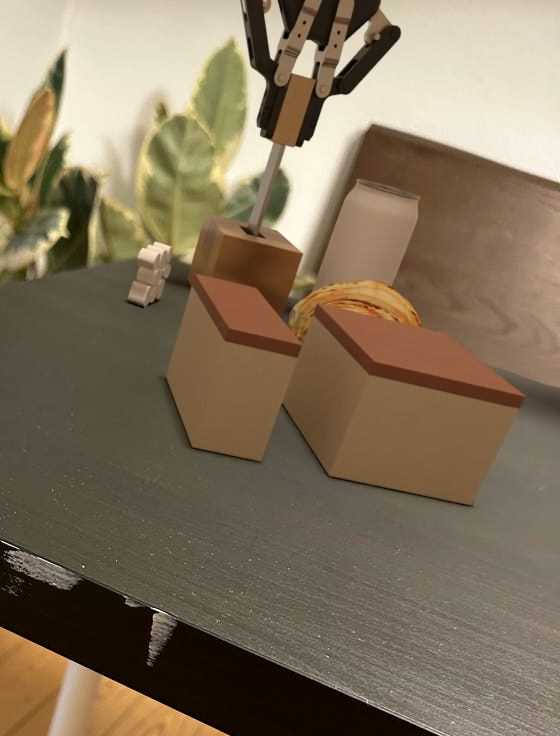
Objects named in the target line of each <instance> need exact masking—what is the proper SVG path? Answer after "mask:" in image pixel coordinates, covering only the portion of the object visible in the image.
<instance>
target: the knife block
mask: <svg viewBox="0 0 560 736" xmlns="http://www.w3.org/2000/svg"><path fill="white" fill-rule="evenodd" d="M248 224H249V222H246V221H241V220H237V219H233V218H229V217H225V216H221V215H217V214H213V213H209V212H205V214H204V217H203V221H202V224H201V229H200V231H199V235H198V238H197V242H196V246H195V250H194V253H193V255H192V256H193V257H192V260H191V264H190V267H189V270H188V274H187V278H186V280H187V282H188V284H189V285H190V288H191V287H192V284H193V280H194V277H195V274H199V275H204V276H208V277H212V278H216V279H220V280H224V281H229V282H233V283H237V284H241V285H245V286H249V287H254V288H256V289H257V290H258V291H259V292H260V293H261V295H262V296H263V297H264V298H265V299H266V301H267V302H268V303H269V304H270V306H271V307H272V308H273V309H274V311H275V312H276V313H277V314H278V315H279V317H280V318H281V319H282V318H283V316H284V312H285V309H286V307H287V304H288V300H289V297H290V294H291V292H292V288H293V285H294V283H295V279H296V277H297V274H298V271H299V268H300V265H301V262H302V259H303V256H304V252H302V251H301V250H300V249H299V248H298V247H296V245H294V244H293V242H291V241H290V240H289V239H287V237H285V235H283V234H282V233H281V232H280V231H279V230H278V229H277V230H276V229H272V228H270V227H265V226H261V227H260V231H259V234H258V237H256V236H252V235H248V234H246V230H247V227H248Z"/></svg>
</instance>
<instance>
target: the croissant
mask: <svg viewBox="0 0 560 736" xmlns="http://www.w3.org/2000/svg"><path fill="white" fill-rule="evenodd" d="M317 303H321V304H325V305H329V306H333V307H337V308H342V309H346V310H350V311H354V312H358V313H362V314H367V315H371V316H375V317H379V318H383V319H387V320H392V321H396V322H400V323H404V324H408V325H412V326H417V327H421V328H422V322H421V320H420V317H419V316H418V313H417V312H416V310H415V309H414V307H413V305H412V304H411V302H409V300H408V299H406V298H405V297H403V296H402V295H401V293H399V292H398V291H396V288H395V287H394V286H392V287H391V286H388V285H387V284H385V283H383V282H380V281H370V280H364V279H363V280H360V281H357V282H348V281H344V282H339V283H335V284H329V285H326V286H325V287H322V288H320V289H318V290H316V291H314V292H312V291H311V293H310V294H308V296H306V297H304V298H303V299H301V300H299V301H298V302H296V304H294V305H293V308H292V309H291V311H290V312H289V317H288V324H287V326H288V328H289V329H290V330H291V331H292V333H293V334H294V335H295V336H296V338H297V339H298V340H299V341H300V342H301V344H302V345H303V342H304V339H305V336H306V333H307V330H308V328H309V325H310V322H311V319H312V316H313V313H314V310H315V308H316V305H317Z"/></svg>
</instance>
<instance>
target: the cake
mask: <svg viewBox="0 0 560 736" xmlns="http://www.w3.org/2000/svg"><path fill="white" fill-rule="evenodd" d="M525 399H526V395H525V394H523V393H522V392H521V391H520V390H518V389H517V388H516V387H515V386H513V385H512V384H511V383H510V382H508V381H507V380H506V379H504V378H503V377H502V376H500V375H499V374H498V373H496V372H495V371H494V370H492V368H490V367H489V366H487V365H486V364H485V363H484V362H482V361H481V360H480V359H479V358H477V357H476V356H475V355H474V354H472V353H471V352H470V351H468V350H467V349H466V348H464V347H463V346H462V345H461V344H459V343H458V342H457V341H456V340H454V339H453V338H452V337H451V336H449V335H448V334H446V332H441V331H438V330H434V329H433V330H432V329H430V328H429V329H428V328H424V327H422V326H421V327H417V326H412V325H408V324H404V323H400V322H396V321H392V320H387V319H383V318H379V317H375V316H371V315H367V314H362V313H358V312H354V311H350V310H346V309H342V308H337V307H333V306H329V305H325V304H321V303H317V305H316V308H315V310H314V313H313V316H312V319H311V322H310V325H309V328H308V330H307V333H306V336H305V339H304V342H303V345H302V347H301V350H300V353H299V356H298V359H297V361H296V364H295V367H294V370H293V373H292V376H291V378H290V381H289V384H288V387H287V390H286V392H285V395H284V398H283V401H282V405H283V407H284V408H285V410H286V411H287V413H288V414H289V417H291V419H292V421H293V422H294V424H295V425H296V427H297V428H298V430H299V431H300V433H301V435H302V436H303V438H304V440H305V441H306V442H307V444H308V446H309V447H310V448H311V450H312V451H313V454H314V455H315V457H316V458H317V459H318V461H319V462H320V464H321V466H322V467H323V469H324V470H325V472H326V473H327V476H329V477H332V478H337V479H342V480H346V481H347V480H348V481H352V482H356V483H361V484H366V485H370V486H376V487H380V488H386V489H390V490H394V491H399V492H403V493H408V494H414V495H418V496H424V497H428V498H432V499H433V498H434V499H438V500H443V501H447V502H453V503H457V504H463V505H466V506H472V505H473V503H474V501H475V500H476V497H477V496H478V493H479V491H480V489H481V487H482V485H483V483H484V481H485V480H486V477H487V475H488V473H489V471H490V469H491V467H492V465H493V464H494V461H495V460H496V456H497V455H498V453H499V451H500V449H501V447H502V445H503V443H504V441H505V439H506V436H507V435H508V433H509V430H510V429H511V427H512V424H513V423H514V420H515V418H516V417H517V414H518V412H519V411H520V409H521V407H522V405H523V403H524V401H525Z"/></svg>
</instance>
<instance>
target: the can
mask: <svg viewBox="0 0 560 736" xmlns="http://www.w3.org/2000/svg"><path fill="white" fill-rule="evenodd" d="M421 199H422V198H421V196H419V195H416V194H414V193H412V192H409V191H405V190H403V189H401V188H400V189H399V188H396V187H393V186H389V185H386V184H382V183H378V182H374V181H372V180H371V181H370V180H366V179H361V178H357V179H356V183H355V185H354V187H353V188H352V189H351V190H350V191H349V192H348V194H347V195H346V196H345V198H344V200H343V203H342V206H341V207H340V211H339V214H338V216H337V220H336V222H335V225H334V227H333V231H332V233H331V236H330V239H329V243H328V245H327V247H326V250H325V253H324V256H323V259H322V262H321V264H320V268H319V270H318V273H317V276H316V279H315V281H314V284H313V288H312V290H311V293H312V292H314V291H316V290H318V289H320V288H322V287H325V286H326V285H329V284H335V283H339V282H344V281H348V282H357V281H360V280H363V279H364V280H370V281H380V282H383V283H385V284H387V285H388V286H391V287H393V284H394V283H395V282H394V281H395V279H396V277H397V274H398V271H399V270H400V266H401V264H402V261H403V259H404V256H405V254H406V251H407V248H408V246H409V244H410V241H411V238H412V236H413V233H414V230H415V228H416V225H417V222H418V219H419V210H418V209H419V201H420V200H421Z"/></svg>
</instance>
